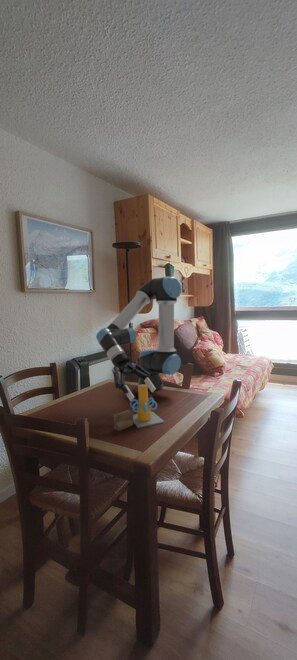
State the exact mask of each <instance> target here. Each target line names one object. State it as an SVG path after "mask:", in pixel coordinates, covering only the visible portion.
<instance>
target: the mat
mask: <svg viewBox="0 0 297 660" xmlns="http://www.w3.org/2000/svg"><path fill="white" fill-rule="evenodd" d="M164 423H165V420H164V419H162V418H161V417H160V416H159V415H158V414H157V413H155V412H154V410H151V419H150V420H149V421H145V422H142V421H138V419H137V413H136V414H133V424H134V425H135V427H136V428H138V429H140V428H145V427H149V426H153V425H159V424H164Z"/></svg>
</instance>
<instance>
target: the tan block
mask: <svg viewBox="0 0 297 660" xmlns="http://www.w3.org/2000/svg"><path fill="white" fill-rule="evenodd" d="M133 415H134V411H133V410H132V409H126V410H124V411H121V412H118V413H116V414H113V428H114V430H115V431H118V432H120V431H124V430H125V429H127V428H129V427H132V426H134V425H135V424H134V423H133Z"/></svg>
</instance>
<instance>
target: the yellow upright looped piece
mask: <svg viewBox="0 0 297 660" xmlns="http://www.w3.org/2000/svg"><path fill="white" fill-rule="evenodd" d="M137 388H138V394H139V400H136V399H133V400H132V401H130V402H129V405H130V407H131V408H132V409H131V410H132V411H133V413H134V412H135V413H136V414H137V419H138V421H142V422H145V421H149V420H150V419H151V412H152V411H155V410H157V408H158V403H157V402H156V401H155V400H154V397H153V396H152V397H150V398H149V396H148V386H147V385H146V384H140V385H138V384H137ZM154 404H155V406H154ZM136 405H137V406H136ZM153 406H154V407H153Z"/></svg>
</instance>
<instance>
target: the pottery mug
mask: <svg viewBox="0 0 297 660" xmlns="http://www.w3.org/2000/svg"><path fill="white" fill-rule="evenodd" d="M132 394H133V395H134V398H133V399H136V400H138V401H139V394H138V387H137V388H136V389H135V390H134V392H133V393H132ZM150 397H152V398H153V392H151V391H150V389H149V388H148V398H150Z"/></svg>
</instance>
